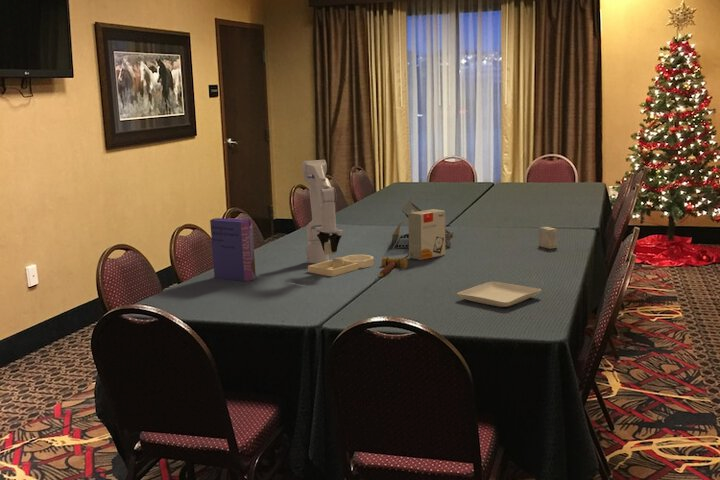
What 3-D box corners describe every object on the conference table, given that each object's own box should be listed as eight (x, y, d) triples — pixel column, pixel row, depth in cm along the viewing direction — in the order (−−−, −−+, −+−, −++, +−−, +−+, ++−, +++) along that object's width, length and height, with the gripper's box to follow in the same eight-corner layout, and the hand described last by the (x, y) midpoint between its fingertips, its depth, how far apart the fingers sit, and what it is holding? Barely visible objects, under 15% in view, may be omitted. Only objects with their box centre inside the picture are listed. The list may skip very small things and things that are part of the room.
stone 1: (322, 254, 318) (321, 243, 317) (330, 252, 321) (329, 241, 320) (329, 255, 315) (329, 244, 314) (337, 253, 318) (337, 242, 317)
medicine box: (557, 248, 349) (557, 229, 347) (548, 249, 347) (549, 230, 346) (546, 245, 356) (547, 226, 355) (538, 246, 355) (538, 227, 353)
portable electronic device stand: (450, 249, 357) (450, 210, 354) (389, 250, 361) (388, 211, 358) (453, 236, 389) (453, 199, 386) (397, 236, 393) (396, 200, 390)
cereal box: (255, 279, 313) (251, 219, 309) (248, 281, 309) (244, 221, 305) (222, 275, 322) (217, 217, 318) (214, 277, 318) (210, 219, 314)
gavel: (391, 271, 304) (367, 270, 308) (392, 282, 306) (368, 281, 309) (407, 256, 323) (384, 255, 327) (408, 267, 325) (385, 266, 328)
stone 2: (330, 269, 322) (330, 258, 321) (338, 267, 325) (338, 256, 324) (338, 270, 319) (338, 260, 318) (346, 268, 322) (345, 258, 321)
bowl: (335, 267, 329) (335, 258, 328) (357, 261, 338) (357, 253, 337) (358, 271, 320) (358, 262, 319) (379, 265, 329) (379, 257, 328)
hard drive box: (420, 260, 335) (419, 214, 331) (408, 258, 340) (407, 212, 337) (446, 254, 344) (445, 209, 341) (433, 252, 350) (432, 208, 346)
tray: (308, 273, 319) (307, 265, 319) (334, 266, 330) (334, 259, 330) (332, 277, 310) (331, 270, 309) (358, 270, 321) (358, 263, 320)
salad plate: (455, 301, 270) (455, 292, 269) (492, 289, 285) (492, 280, 284) (506, 312, 255) (506, 302, 254) (542, 298, 270) (542, 288, 269)
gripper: (308, 218, 317) (310, 250, 320) (333, 221, 307) (335, 255, 310) (321, 215, 322) (323, 247, 325) (346, 218, 312) (348, 251, 315)
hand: (330, 251), depth 318 cm, fingers closed on stone 1, 4 cm apart
